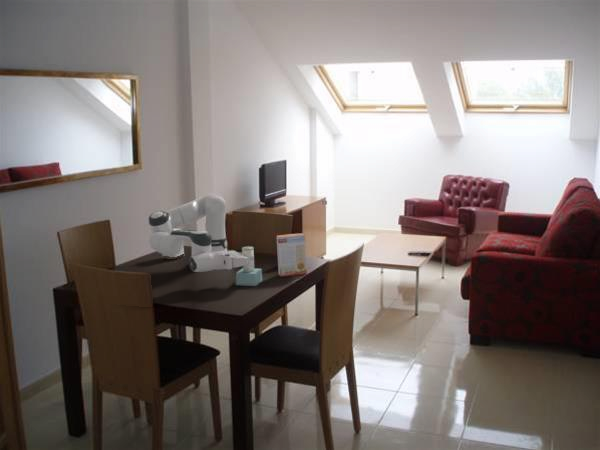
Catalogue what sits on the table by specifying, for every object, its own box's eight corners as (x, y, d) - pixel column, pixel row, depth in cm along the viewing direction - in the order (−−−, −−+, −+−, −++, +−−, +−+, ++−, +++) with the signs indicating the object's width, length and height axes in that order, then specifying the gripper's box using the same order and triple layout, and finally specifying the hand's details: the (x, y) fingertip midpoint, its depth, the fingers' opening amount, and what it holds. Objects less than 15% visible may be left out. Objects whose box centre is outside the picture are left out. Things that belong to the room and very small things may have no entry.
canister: (242, 272, 326) (241, 249, 324) (243, 269, 332) (242, 246, 330) (254, 271, 326) (253, 248, 324) (254, 269, 332) (253, 246, 330)
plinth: (235, 285, 326) (234, 273, 325) (243, 279, 337) (242, 267, 335) (256, 285, 324) (255, 273, 323) (263, 280, 334) (262, 268, 333)
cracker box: (304, 271, 347) (302, 232, 343) (307, 274, 341) (305, 234, 337) (278, 274, 344) (276, 234, 340) (280, 277, 338) (278, 236, 334)
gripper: (216, 261, 332) (242, 258, 338) (230, 270, 314) (257, 266, 320) (215, 249, 331) (242, 246, 337) (229, 257, 313) (256, 253, 318)
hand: (249, 256), depth 328 cm, fingers open, 8 cm apart
